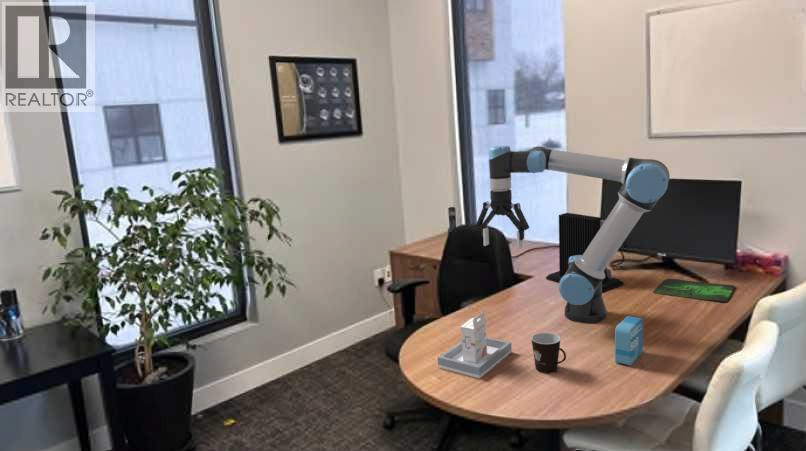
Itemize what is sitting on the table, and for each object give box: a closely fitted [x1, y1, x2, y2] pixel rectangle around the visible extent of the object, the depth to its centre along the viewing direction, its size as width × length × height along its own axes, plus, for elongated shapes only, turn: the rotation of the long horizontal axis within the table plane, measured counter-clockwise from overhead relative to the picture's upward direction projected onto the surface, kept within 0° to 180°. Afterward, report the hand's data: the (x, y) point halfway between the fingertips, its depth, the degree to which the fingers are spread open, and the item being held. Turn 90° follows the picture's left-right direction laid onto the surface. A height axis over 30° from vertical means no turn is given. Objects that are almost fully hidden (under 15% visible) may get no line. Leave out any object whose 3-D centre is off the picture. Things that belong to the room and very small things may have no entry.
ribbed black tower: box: [545, 212, 625, 294], centre depth 251 cm, size 30×19×30 cm, turn 34°
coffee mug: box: [530, 332, 567, 374], centre depth 173 cm, size 12×9×10 cm
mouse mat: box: [652, 278, 737, 304], centre depth 233 cm, size 27×22×1 cm
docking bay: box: [437, 336, 513, 379], centre depth 185 cm, size 15×21×4 cm
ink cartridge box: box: [460, 311, 487, 363], centre depth 183 cm, size 9×5×15 cm, turn 147°
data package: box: [614, 315, 644, 366], centre depth 177 cm, size 12×4×12 cm, turn 140°
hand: (502, 246), depth 209 cm, fingers open, 13 cm apart
